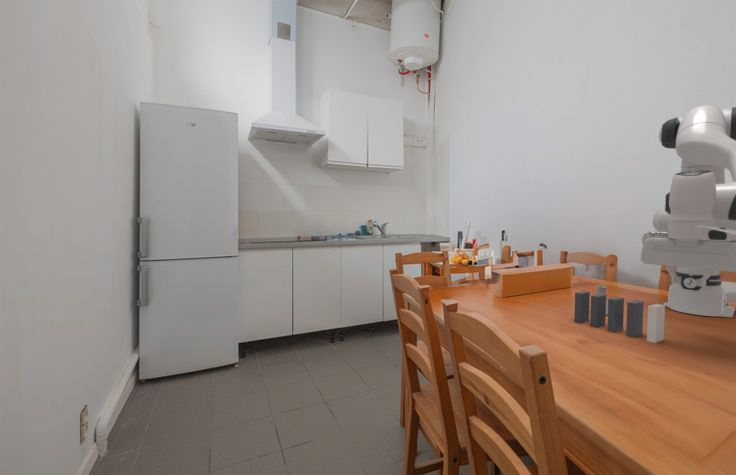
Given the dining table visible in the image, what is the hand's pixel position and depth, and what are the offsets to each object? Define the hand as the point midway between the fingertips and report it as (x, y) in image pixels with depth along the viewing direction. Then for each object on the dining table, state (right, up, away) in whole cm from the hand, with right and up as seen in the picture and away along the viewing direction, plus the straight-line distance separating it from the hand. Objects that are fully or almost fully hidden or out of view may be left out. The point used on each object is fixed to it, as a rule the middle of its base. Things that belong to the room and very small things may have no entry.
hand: (688, 284), depth 87 cm
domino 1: (-12, -16, +24) cm, 32 cm away
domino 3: (-8, -16, +15) cm, 24 cm away
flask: (+1, -16, +34) cm, 37 cm away
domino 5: (-3, -17, +7) cm, 18 cm away
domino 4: (-5, -17, +11) cm, 21 cm away
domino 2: (-10, -16, +20) cm, 27 cm away
